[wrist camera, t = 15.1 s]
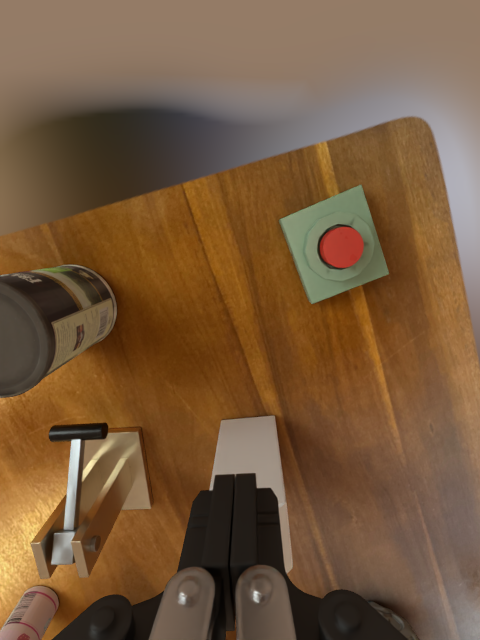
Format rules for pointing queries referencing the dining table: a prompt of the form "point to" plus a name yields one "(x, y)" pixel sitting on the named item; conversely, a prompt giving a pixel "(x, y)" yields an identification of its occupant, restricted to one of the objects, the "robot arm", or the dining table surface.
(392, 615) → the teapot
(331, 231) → the button
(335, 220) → the button block
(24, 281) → the coffee can
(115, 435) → the lever bracket
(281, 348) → the dining table surface
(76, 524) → the lever handle
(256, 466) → the milk carton
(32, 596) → the beverage can
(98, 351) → the dining table surface
